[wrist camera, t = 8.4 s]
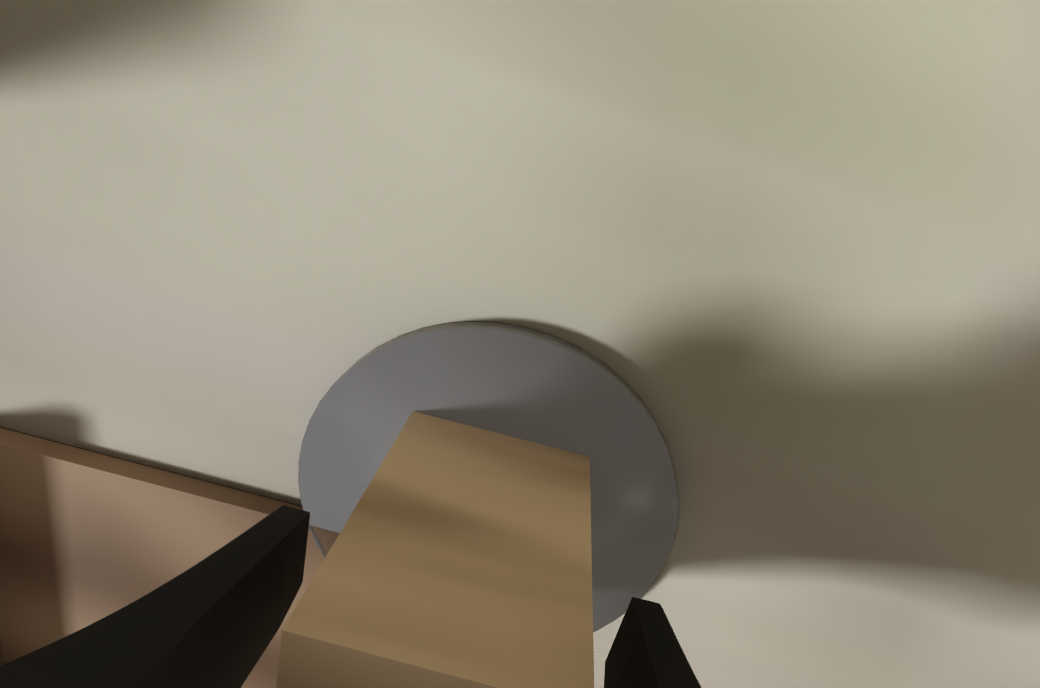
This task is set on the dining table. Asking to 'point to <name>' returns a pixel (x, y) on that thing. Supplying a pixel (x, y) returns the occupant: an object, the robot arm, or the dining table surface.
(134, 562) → the crate
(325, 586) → the oak block
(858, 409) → the dining table surface
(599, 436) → the slate coaster
